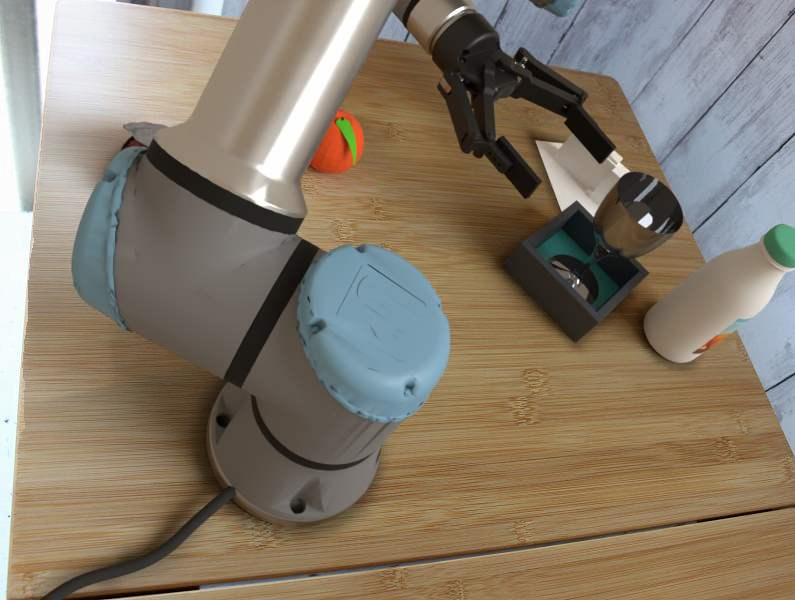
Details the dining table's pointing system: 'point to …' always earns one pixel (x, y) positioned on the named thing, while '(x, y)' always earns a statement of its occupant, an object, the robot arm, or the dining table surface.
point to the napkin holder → (579, 173)
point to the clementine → (339, 145)
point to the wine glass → (624, 228)
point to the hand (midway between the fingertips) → (572, 172)
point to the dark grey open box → (552, 290)
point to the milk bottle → (720, 296)
